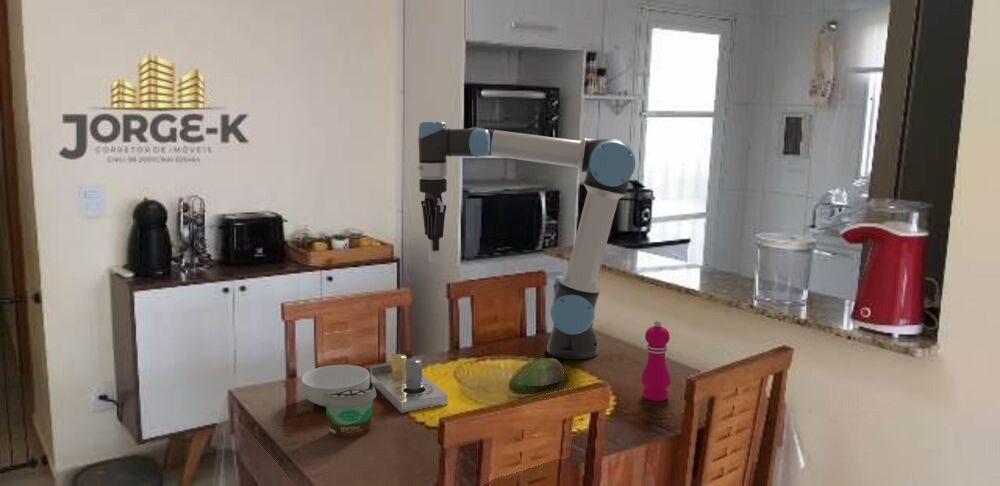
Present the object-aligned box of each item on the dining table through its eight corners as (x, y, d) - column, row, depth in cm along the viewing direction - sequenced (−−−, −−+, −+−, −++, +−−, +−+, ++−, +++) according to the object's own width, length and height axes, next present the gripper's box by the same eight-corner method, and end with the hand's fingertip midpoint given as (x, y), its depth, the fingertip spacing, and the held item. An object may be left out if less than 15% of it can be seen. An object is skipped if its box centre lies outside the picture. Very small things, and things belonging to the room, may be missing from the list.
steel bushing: (419, 395, 203) (417, 357, 201) (424, 400, 199) (423, 361, 198) (404, 398, 201) (403, 360, 199) (409, 403, 198) (408, 364, 196)
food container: (328, 444, 174) (326, 400, 172) (322, 433, 179) (321, 391, 178) (383, 435, 179) (382, 392, 177) (376, 425, 184) (375, 383, 183)
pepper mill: (651, 389, 207) (654, 315, 203) (675, 396, 202) (678, 320, 198) (635, 396, 202) (637, 320, 198) (659, 404, 197) (661, 326, 193)
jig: (413, 375, 218) (412, 347, 216) (447, 404, 197) (447, 373, 195) (370, 382, 213) (369, 353, 211) (401, 412, 191) (400, 381, 190)
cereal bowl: (298, 395, 204) (297, 368, 202) (363, 387, 209) (362, 361, 208) (306, 419, 188) (305, 390, 187) (376, 410, 193) (375, 382, 192)
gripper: (411, 176, 224) (413, 258, 228) (429, 180, 213) (430, 267, 217) (436, 175, 228) (437, 256, 232) (454, 179, 216) (455, 264, 220)
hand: (434, 261), depth 224 cm, fingers closed
